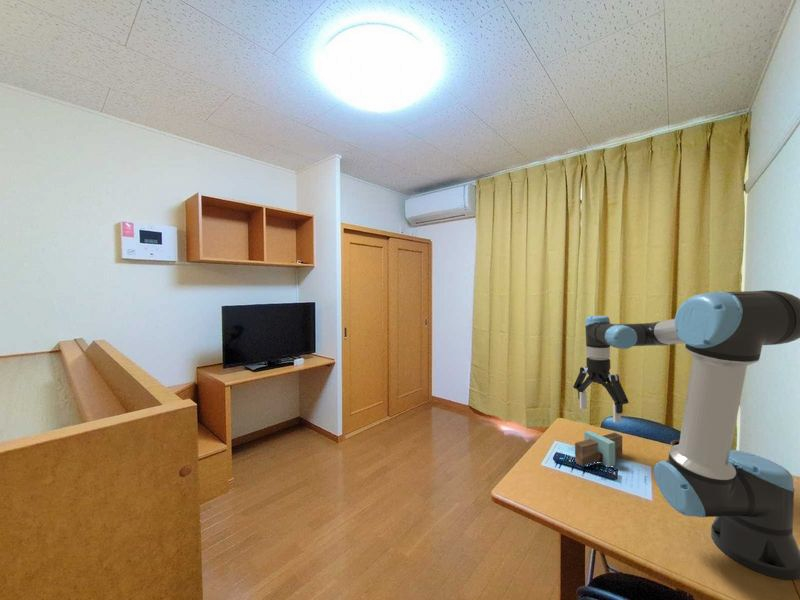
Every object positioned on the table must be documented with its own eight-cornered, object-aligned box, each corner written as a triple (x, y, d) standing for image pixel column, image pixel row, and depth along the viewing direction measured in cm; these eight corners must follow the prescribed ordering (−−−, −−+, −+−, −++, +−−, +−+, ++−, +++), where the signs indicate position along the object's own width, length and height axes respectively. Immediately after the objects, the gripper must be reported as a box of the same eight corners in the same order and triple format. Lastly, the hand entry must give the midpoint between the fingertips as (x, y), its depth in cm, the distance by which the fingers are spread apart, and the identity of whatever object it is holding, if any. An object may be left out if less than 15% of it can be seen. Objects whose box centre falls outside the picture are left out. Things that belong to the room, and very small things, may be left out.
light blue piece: (615, 466, 115) (615, 442, 114) (609, 468, 114) (608, 443, 113) (590, 452, 124) (590, 430, 124) (584, 454, 123) (584, 431, 123)
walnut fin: (622, 456, 121) (622, 436, 121) (582, 468, 114) (582, 446, 114) (614, 452, 124) (614, 432, 123) (575, 464, 117) (575, 442, 117)
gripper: (640, 363, 107) (641, 426, 107) (577, 351, 130) (578, 402, 131) (624, 366, 104) (625, 430, 105) (562, 352, 128) (564, 405, 129)
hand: (599, 414), depth 118 cm, fingers open, 13 cm apart
